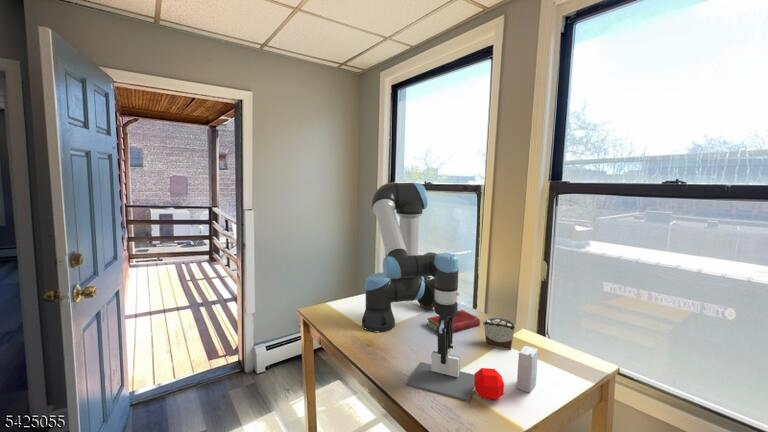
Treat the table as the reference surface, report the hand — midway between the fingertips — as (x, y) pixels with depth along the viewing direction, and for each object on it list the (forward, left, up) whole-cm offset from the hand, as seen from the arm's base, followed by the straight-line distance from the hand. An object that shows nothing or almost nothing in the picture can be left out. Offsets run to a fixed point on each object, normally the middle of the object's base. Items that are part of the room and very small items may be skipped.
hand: (445, 369), depth 110 cm
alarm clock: (-23, +55, -3) cm, 60 cm away
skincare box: (+25, +5, -3) cm, 26 cm away
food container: (+14, +31, -3) cm, 34 cm away
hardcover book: (-7, +41, -3) cm, 41 cm away
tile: (0, 0, -1) cm, 1 cm away
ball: (+15, -5, -3) cm, 16 cm away
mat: (0, -3, -2) cm, 4 cm away
